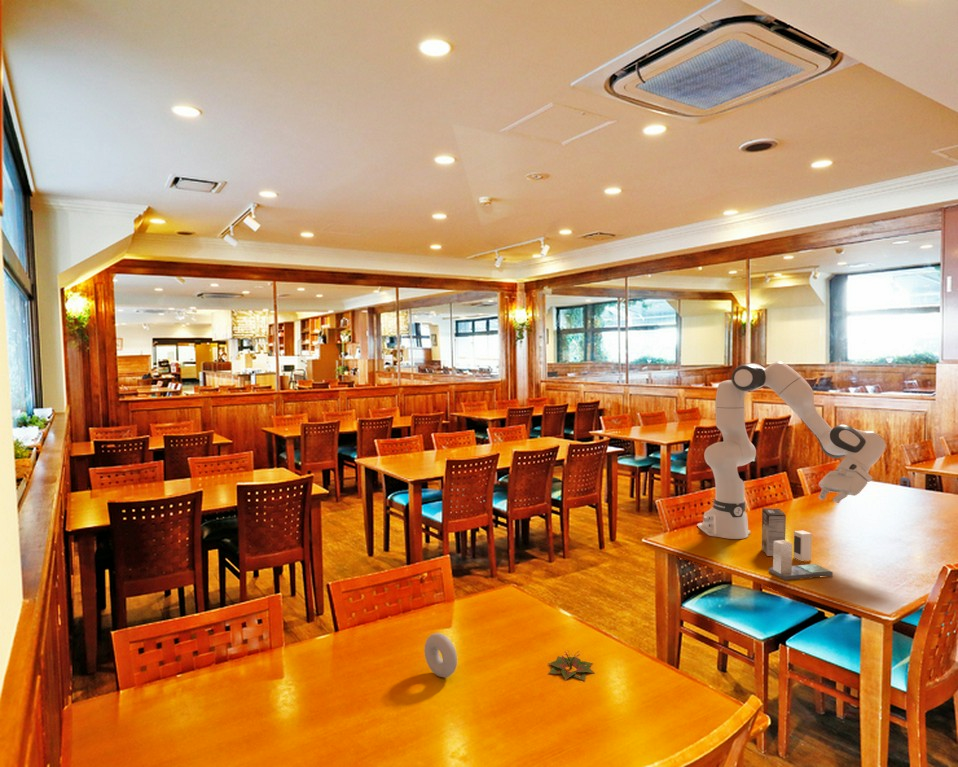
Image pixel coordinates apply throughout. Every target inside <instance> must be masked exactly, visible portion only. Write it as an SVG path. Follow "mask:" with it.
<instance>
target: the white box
mask: <svg viewBox="0 0 958 767" xmlns="http://www.w3.org/2000/svg"><path fill="white" fill-rule="evenodd" d="M812 536H813V535H812V533H811V532H809V531H806V530H794V531H793V558H794V557H795V558H797V559H799V560H801V561H804V560H811V561H812V539H813V538H812ZM795 558H794V559H795ZM797 559H796V560H797ZM799 560H798V561H799ZM801 561H800V562H801ZM804 562H805V561H804Z"/></svg>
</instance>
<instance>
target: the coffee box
mask: <svg viewBox="0 0 958 767" xmlns="http://www.w3.org/2000/svg"><path fill="white" fill-rule="evenodd" d="M761 514H762V515H761V518H762V519H761V550H762V549H763V550H762V551H763V552H765V553H766V554H765V553H764V554H765V555H766V557H767V556H773V542H774V541H778V540H785V541H786V524H787V522H786V519H787V516H786V514H785V513H784V511H782V510H781V509H780V508H767V507H766V508H762V511H761Z"/></svg>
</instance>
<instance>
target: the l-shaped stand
mask: <svg viewBox="0 0 958 767" xmlns="http://www.w3.org/2000/svg"><path fill="white" fill-rule="evenodd" d="M772 558H773V559H772V560H773V561H772V567H769V568H768V572H769V573H770V572H771V573H770V574H772V573H773V574H772V575H774V576H775V575H776V577H777V576H778V577H777V578H779V577H780V578H779V579H781V578H782V579H781V580H783V581H791V580H790V579H797V580H801V579H800V578H809V579H811V578H810V577H820V576H834V574H833V573H834V572H833V571H831V570H828V569H827V568H824V567H823V566H820V565H818V564H816V563H814V564H813V563H812V564H800V565H799V564H798V565H792V564H793V543H792V542H789V541H787V540H786V539H785V540H778V541H774V542H773V557H772Z"/></svg>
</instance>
